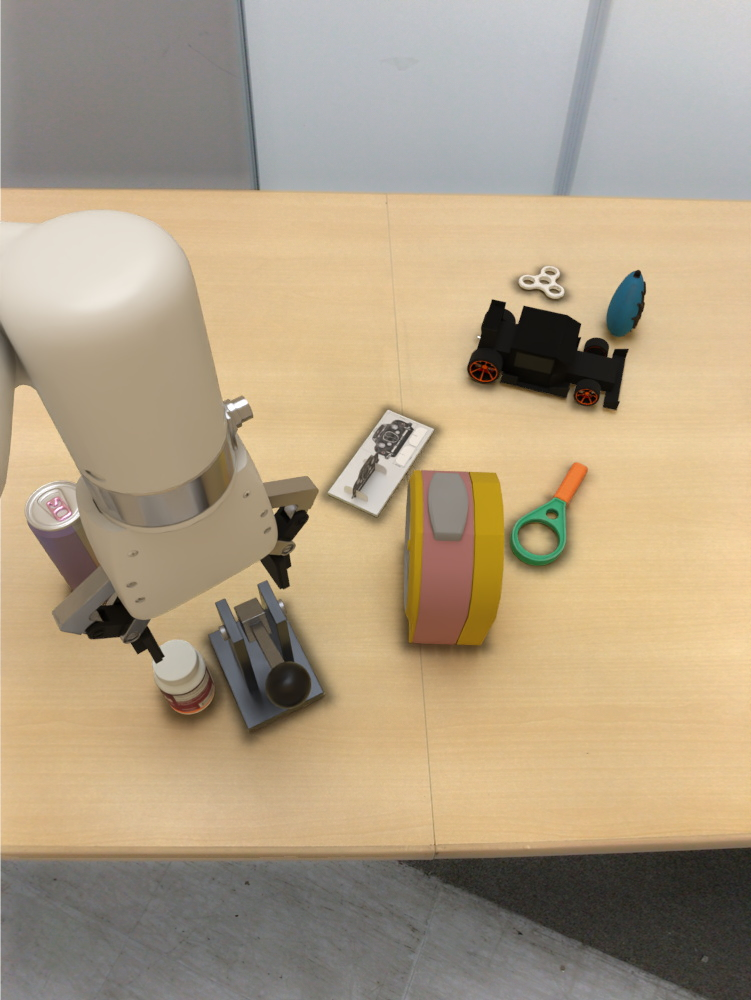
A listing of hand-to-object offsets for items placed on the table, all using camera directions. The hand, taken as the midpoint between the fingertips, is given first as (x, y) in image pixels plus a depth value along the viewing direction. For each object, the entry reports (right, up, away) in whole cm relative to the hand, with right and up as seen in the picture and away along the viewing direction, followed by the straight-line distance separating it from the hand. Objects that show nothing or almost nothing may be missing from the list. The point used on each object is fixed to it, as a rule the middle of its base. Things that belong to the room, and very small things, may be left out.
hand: (215, 608), depth 52 cm
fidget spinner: (+37, +39, +58) cm, 79 cm away
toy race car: (+34, +25, +49) cm, 65 cm away
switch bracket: (0, -10, +24) cm, 26 cm away
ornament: (+46, +32, +54) cm, 77 cm away
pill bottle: (-7, -12, +22) cm, 26 cm away
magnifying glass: (+32, +6, +35) cm, 48 cm away
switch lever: (+3, -7, +11) cm, 13 cm away
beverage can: (-19, -2, +29) cm, 35 cm away
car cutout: (+12, +12, +39) cm, 43 cm away
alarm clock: (+18, -3, +29) cm, 34 cm away
